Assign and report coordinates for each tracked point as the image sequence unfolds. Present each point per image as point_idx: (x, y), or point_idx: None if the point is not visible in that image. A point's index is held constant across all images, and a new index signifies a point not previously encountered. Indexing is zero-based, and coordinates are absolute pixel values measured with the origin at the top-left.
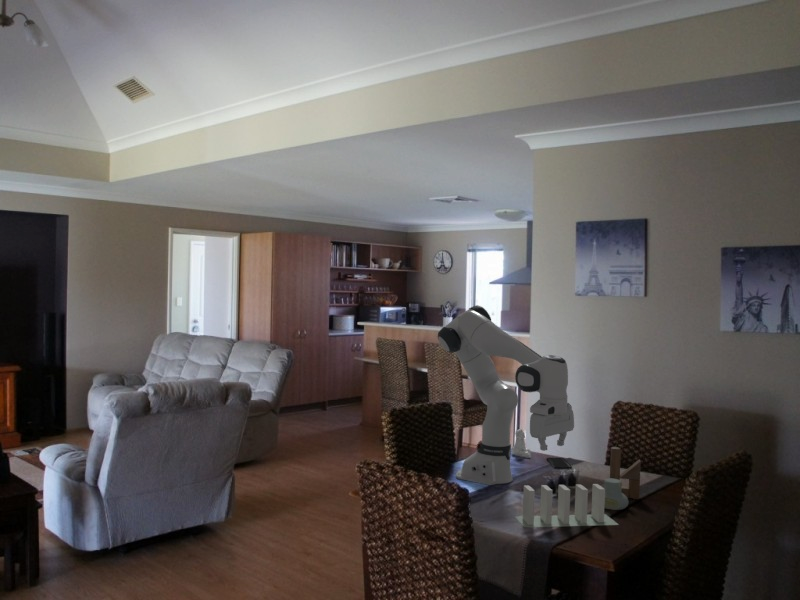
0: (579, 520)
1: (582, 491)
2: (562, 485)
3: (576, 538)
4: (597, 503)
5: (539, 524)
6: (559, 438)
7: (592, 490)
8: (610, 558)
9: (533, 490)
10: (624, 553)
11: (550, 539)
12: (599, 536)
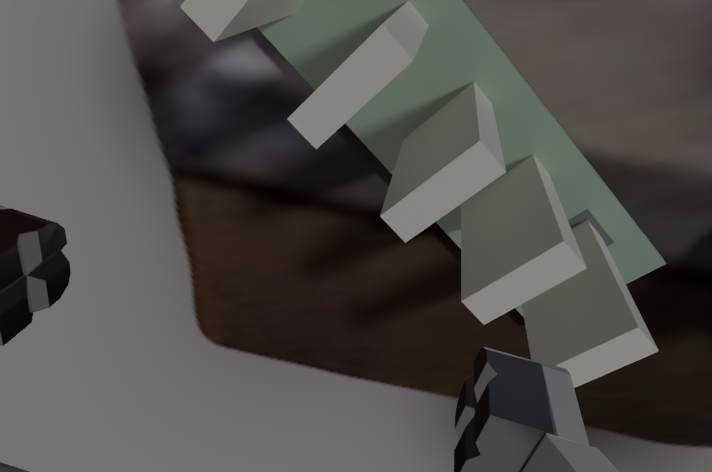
0: (480, 193)
1: (462, 293)
2: (479, 170)
3: (309, 217)
4: (542, 303)
5: (312, 41)
6: (557, 469)
7: (622, 301)
8: (227, 338)
9: (210, 31)
10: (294, 363)
11: (225, 136)
12: (389, 280)
